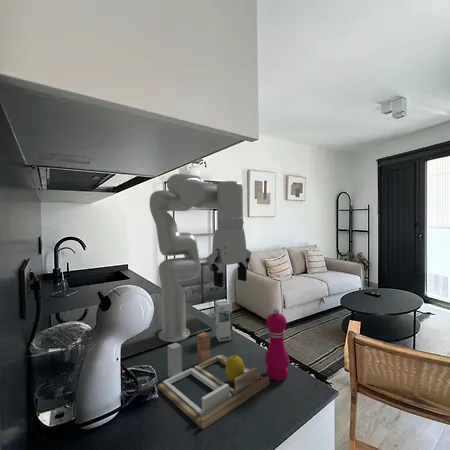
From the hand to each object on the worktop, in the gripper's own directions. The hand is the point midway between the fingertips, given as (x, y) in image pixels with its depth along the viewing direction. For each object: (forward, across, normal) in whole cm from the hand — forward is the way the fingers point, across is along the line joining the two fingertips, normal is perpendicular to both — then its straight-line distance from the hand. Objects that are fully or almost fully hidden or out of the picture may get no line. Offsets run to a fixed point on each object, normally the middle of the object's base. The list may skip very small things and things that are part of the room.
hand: (230, 283), depth 78 cm
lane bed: (+28, +6, -2) cm, 29 cm away
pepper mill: (+29, -12, +8) cm, 32 cm away
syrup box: (+29, -18, -22) cm, 40 cm away
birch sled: (+28, 0, -4) cm, 28 cm away
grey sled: (+28, +11, -4) cm, 31 cm away
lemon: (+29, 0, +2) cm, 29 cm away
